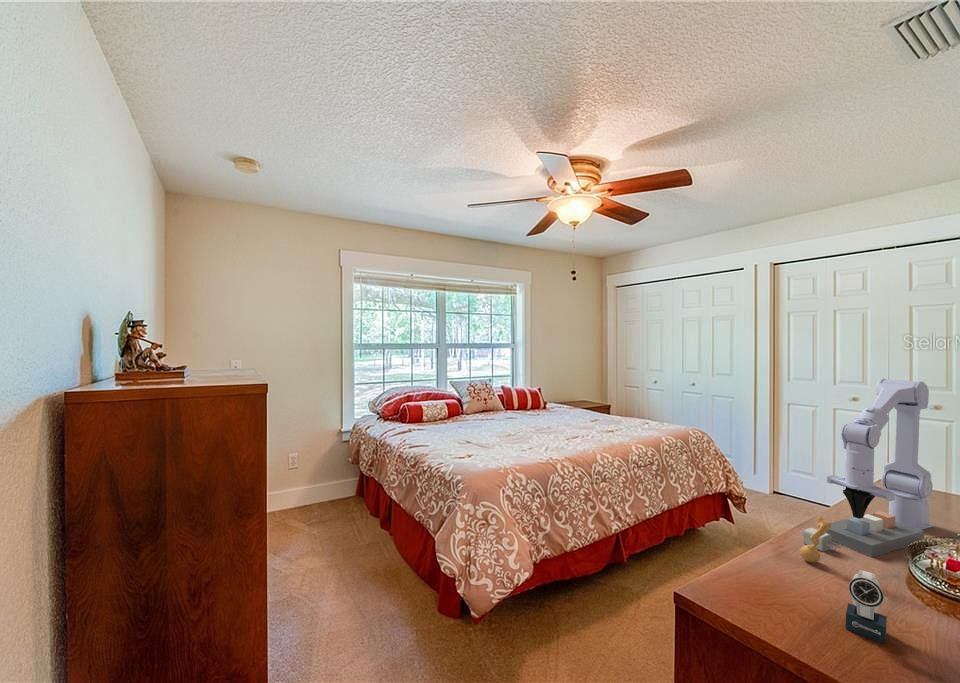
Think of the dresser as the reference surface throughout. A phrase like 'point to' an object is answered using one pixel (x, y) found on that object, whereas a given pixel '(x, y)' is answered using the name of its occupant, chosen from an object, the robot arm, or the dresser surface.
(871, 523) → the white key
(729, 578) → the dresser surface
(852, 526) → the blue key
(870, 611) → the watch
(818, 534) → the figurine
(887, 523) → the terracotta key
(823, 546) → the usb wall charger
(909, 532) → the key panel
